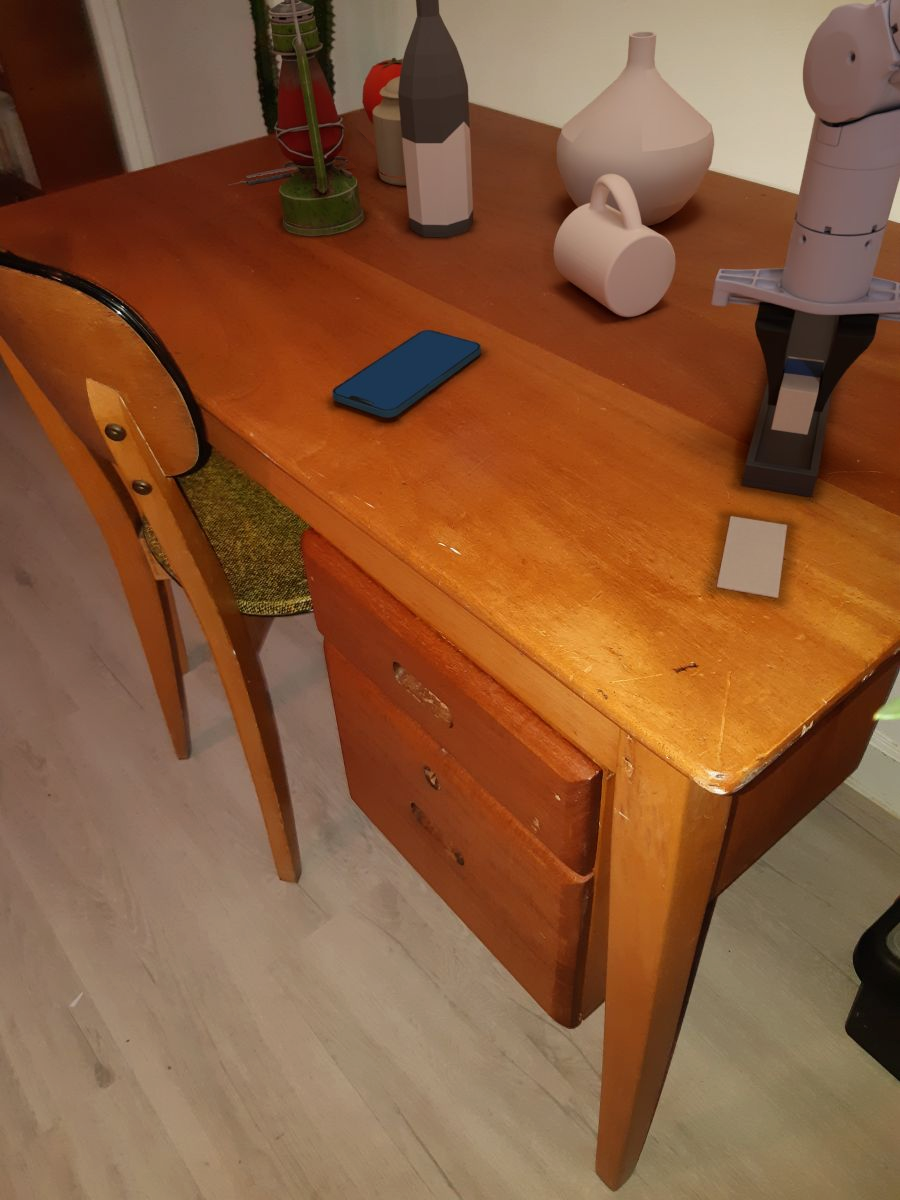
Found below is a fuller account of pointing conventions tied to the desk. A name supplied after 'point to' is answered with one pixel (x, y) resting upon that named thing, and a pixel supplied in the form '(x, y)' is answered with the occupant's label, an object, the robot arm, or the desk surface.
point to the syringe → (281, 176)
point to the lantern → (309, 131)
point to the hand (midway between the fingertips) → (796, 402)
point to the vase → (638, 139)
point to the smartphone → (406, 373)
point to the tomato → (378, 83)
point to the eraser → (797, 395)
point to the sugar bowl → (389, 135)
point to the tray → (786, 454)
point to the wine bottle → (435, 128)
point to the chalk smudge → (753, 557)
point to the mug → (614, 251)
